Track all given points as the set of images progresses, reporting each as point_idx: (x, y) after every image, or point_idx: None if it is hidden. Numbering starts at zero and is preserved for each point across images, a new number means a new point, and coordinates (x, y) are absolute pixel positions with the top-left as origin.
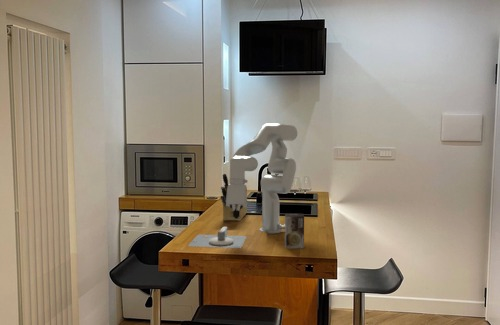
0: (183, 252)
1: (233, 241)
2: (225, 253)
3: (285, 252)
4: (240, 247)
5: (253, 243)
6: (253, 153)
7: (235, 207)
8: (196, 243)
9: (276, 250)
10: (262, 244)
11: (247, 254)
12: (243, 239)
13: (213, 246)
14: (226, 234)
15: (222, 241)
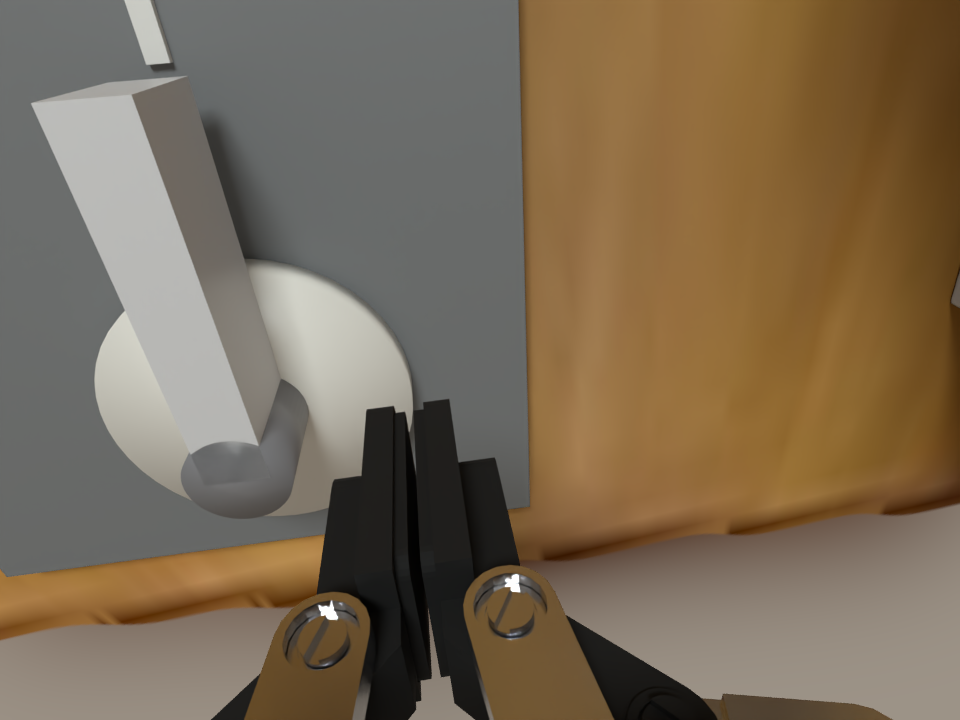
0: (67, 619)
1: (393, 313)
2: None
3: (900, 421)
4: (522, 489)
5: (624, 189)
6: None
7: (362, 687)
8: (19, 487)
9: (838, 388)
10: (732, 210)
11: (588, 536)
12: (497, 179)
13: (260, 525)
14: (211, 174)
15: (306, 461)
